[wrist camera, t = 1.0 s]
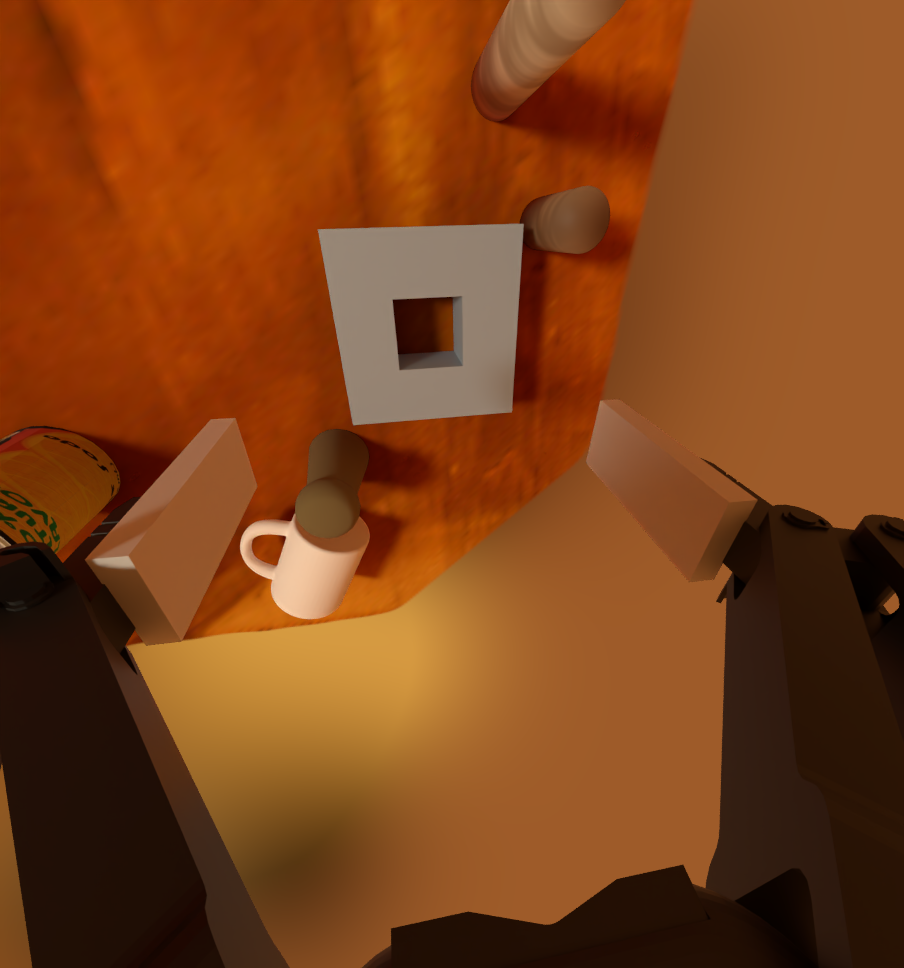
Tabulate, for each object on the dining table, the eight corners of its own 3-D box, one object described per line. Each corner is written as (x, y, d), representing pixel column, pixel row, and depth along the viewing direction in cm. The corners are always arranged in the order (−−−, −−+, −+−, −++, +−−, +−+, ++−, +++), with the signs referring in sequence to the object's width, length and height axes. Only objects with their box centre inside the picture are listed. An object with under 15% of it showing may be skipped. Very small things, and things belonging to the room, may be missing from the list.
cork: (368, 429, 39) (363, 489, 30) (370, 480, 42) (365, 548, 33) (305, 428, 38) (279, 489, 29) (312, 480, 41) (291, 551, 32)
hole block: (327, 230, 30) (318, 229, 25) (505, 225, 31) (523, 223, 27) (356, 403, 37) (353, 425, 33) (498, 393, 39) (511, 412, 35)
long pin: (471, 47, 25) (553, -133, 13) (524, 48, 26) (653, -126, 13) (471, 121, 27) (542, 26, 15) (520, 121, 28) (630, 28, 15)
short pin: (521, 197, 30) (559, 186, 24) (565, 196, 31) (615, 185, 24) (518, 250, 32) (552, 254, 26) (559, 249, 33) (604, 252, 26)
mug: (371, 512, 44) (369, 561, 38) (345, 572, 49) (339, 625, 42) (261, 482, 40) (236, 531, 34) (243, 551, 45) (218, 606, 38)
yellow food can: (83, 418, 34) (-40, 493, 24) (139, 499, 39) (55, 589, 29) (-24, 434, 34) (-195, 517, 24) (46, 514, 39) (-71, 611, 29)
